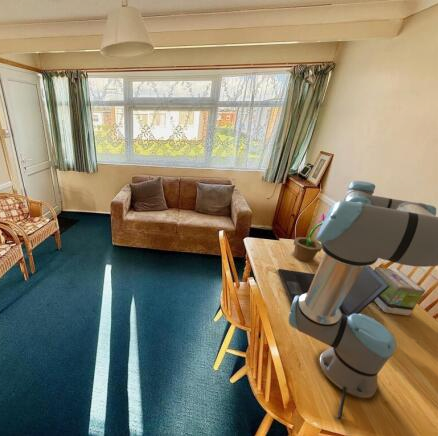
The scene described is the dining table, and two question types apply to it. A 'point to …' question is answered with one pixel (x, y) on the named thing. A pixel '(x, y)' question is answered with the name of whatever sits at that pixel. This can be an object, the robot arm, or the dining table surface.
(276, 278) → the dining table surface
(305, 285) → the laptop
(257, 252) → the dining table surface
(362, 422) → the dining table surface
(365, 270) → the laptop screen
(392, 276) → the tea box
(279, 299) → the dining table surface
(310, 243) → the flowerpot
